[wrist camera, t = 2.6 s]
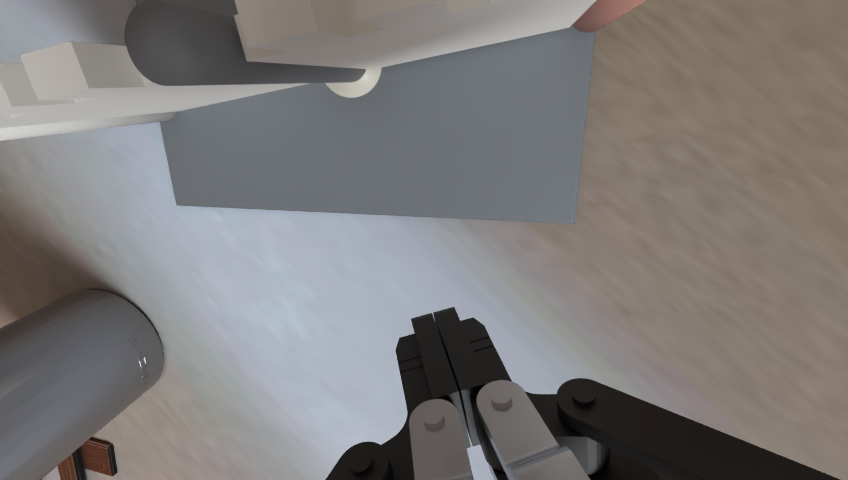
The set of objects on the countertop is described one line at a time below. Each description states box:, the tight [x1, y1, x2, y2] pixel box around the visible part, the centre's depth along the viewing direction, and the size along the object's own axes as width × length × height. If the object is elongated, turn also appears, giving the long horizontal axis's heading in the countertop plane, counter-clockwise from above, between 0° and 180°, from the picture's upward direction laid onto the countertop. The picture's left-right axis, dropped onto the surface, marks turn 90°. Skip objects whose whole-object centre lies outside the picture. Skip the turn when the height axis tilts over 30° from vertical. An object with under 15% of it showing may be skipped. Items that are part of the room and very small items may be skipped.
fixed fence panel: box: [0, 0, 366, 141], centre depth 19 cm, size 14×2×14 cm, turn 101°
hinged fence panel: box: [234, 0, 646, 70], centre depth 16 cm, size 12×2×14 cm, turn 100°
